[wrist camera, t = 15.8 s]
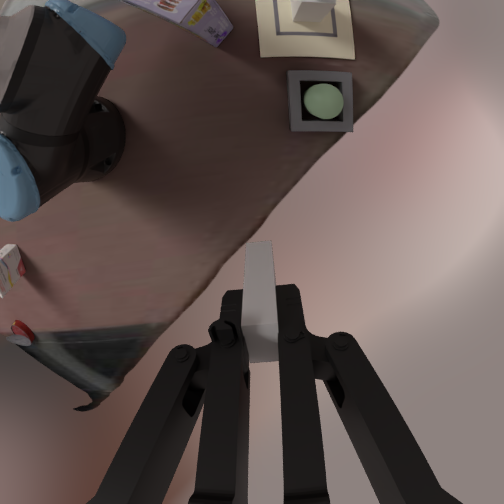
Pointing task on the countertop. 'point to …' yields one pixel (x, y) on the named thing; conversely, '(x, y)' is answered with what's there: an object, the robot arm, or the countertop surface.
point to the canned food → (21, 334)
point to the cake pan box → (190, 16)
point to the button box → (301, 124)
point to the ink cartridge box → (10, 268)
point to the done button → (323, 101)
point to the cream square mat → (304, 32)
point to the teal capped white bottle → (311, 9)
